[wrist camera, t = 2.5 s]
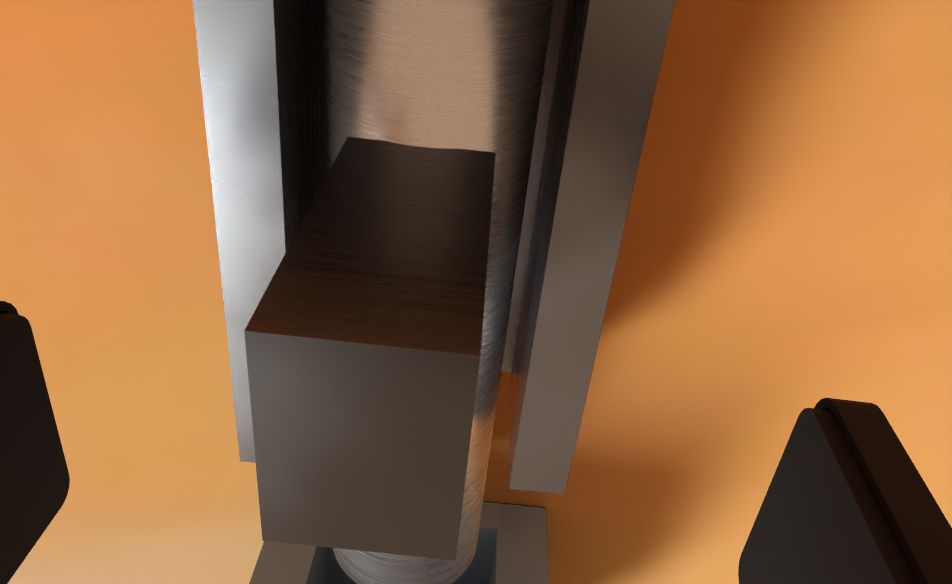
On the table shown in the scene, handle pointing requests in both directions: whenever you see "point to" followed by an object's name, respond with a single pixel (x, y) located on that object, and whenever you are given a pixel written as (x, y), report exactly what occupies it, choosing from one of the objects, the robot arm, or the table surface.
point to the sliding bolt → (399, 288)
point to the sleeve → (546, 207)
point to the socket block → (486, 580)
